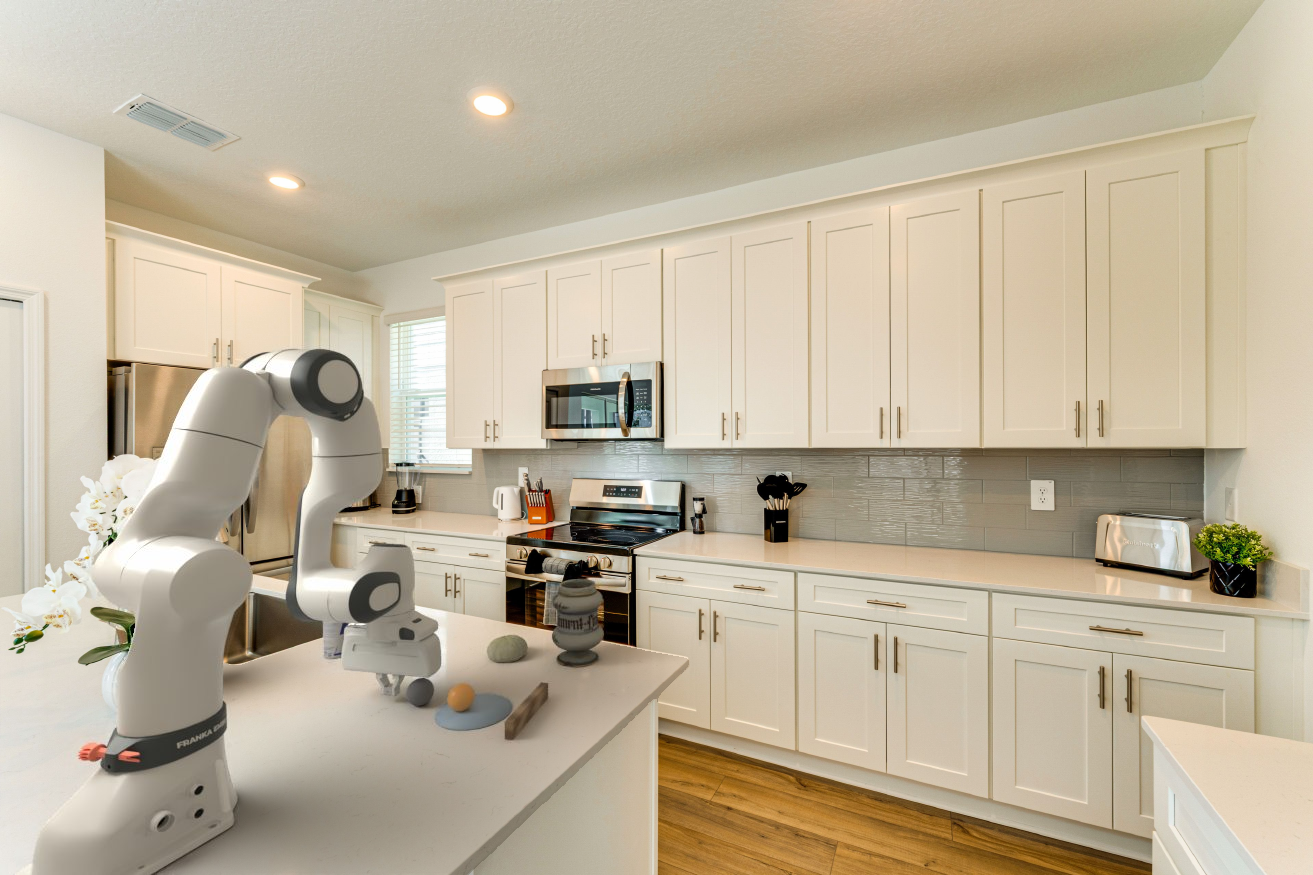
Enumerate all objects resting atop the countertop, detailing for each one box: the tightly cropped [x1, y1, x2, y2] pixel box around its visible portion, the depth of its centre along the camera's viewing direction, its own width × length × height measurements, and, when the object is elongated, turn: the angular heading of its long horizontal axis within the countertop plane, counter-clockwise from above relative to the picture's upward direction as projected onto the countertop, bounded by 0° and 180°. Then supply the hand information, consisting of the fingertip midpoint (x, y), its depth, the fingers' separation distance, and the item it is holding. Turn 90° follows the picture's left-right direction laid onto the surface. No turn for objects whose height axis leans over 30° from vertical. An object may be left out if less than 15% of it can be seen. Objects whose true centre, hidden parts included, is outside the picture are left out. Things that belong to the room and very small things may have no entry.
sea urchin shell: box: [486, 634, 528, 663], centre depth 134 cm, size 9×8×8 cm
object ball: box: [446, 682, 475, 712], centre depth 108 cm, size 5×5×5 cm
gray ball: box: [405, 677, 435, 707], centre depth 110 cm, size 5×5×5 cm
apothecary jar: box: [551, 578, 605, 668], centre depth 133 cm, size 12×12×18 cm
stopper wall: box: [504, 681, 549, 741], centre depth 105 cm, size 16×2×3 cm, turn 169°
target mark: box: [434, 693, 513, 731], centre depth 108 cm, size 14×14×1 cm
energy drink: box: [322, 621, 350, 659], centre depth 136 cm, size 5×5×12 cm
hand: (390, 694), depth 111 cm, fingers closed
